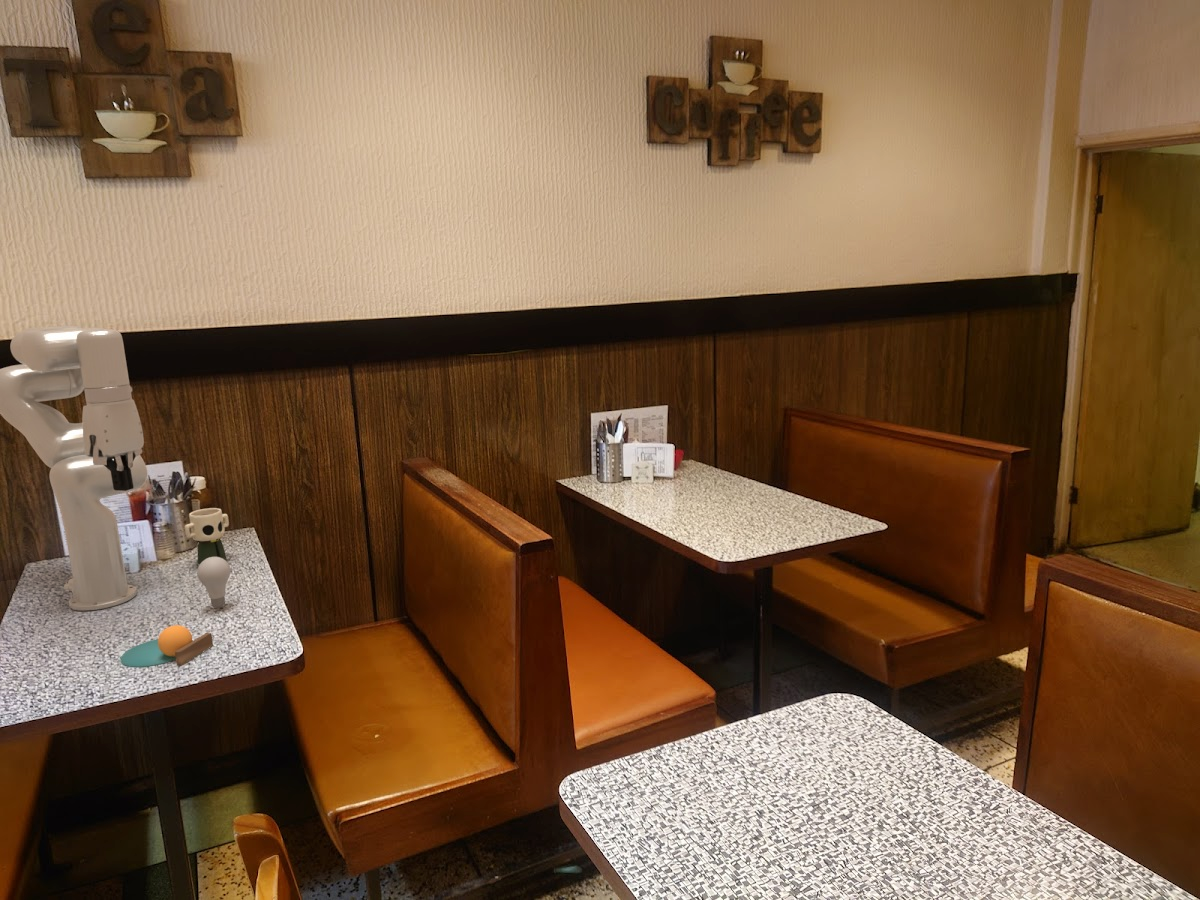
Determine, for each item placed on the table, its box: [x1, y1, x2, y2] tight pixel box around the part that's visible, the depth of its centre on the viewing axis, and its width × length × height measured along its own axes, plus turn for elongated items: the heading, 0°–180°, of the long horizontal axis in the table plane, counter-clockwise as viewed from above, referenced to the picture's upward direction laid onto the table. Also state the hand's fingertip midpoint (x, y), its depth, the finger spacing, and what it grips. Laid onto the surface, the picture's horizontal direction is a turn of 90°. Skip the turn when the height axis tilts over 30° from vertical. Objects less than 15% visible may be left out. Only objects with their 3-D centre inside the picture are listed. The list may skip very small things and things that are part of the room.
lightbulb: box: [196, 557, 231, 610], centre depth 170 cm, size 6×6×11 cm
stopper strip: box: [175, 632, 214, 666], centre depth 149 cm, size 1×8×2 cm, turn 166°
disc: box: [120, 638, 194, 668], centre depth 151 cm, size 12×12×1 cm
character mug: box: [184, 507, 230, 565], centre depth 198 cm, size 11×7×13 cm, turn 147°
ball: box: [157, 624, 193, 657], centre depth 149 cm, size 6×6×6 cm
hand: (123, 489), depth 160 cm, fingers closed
